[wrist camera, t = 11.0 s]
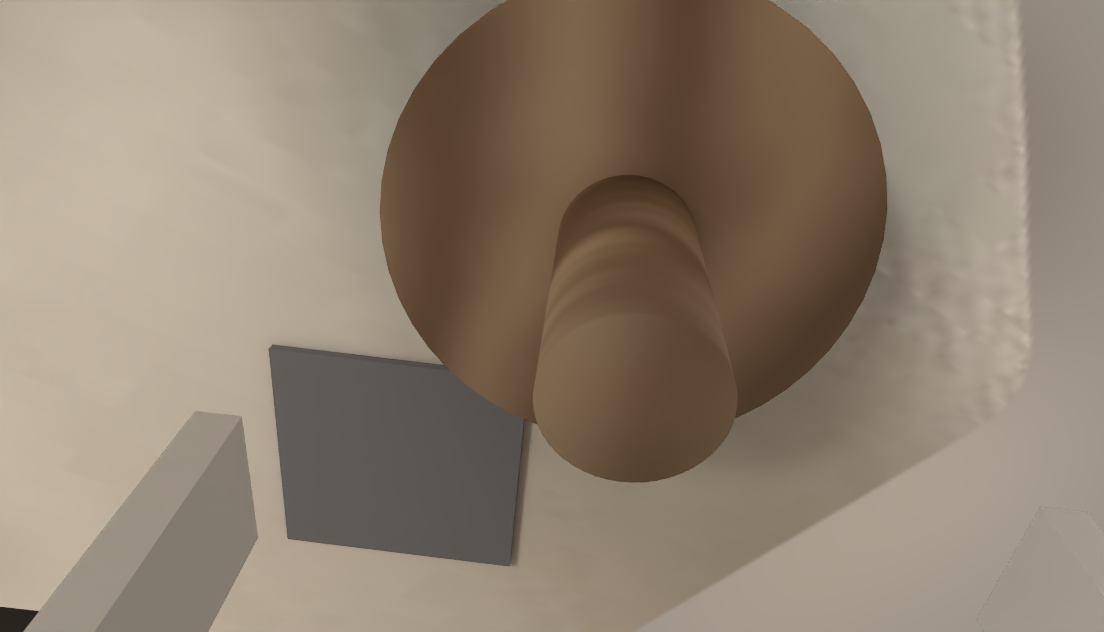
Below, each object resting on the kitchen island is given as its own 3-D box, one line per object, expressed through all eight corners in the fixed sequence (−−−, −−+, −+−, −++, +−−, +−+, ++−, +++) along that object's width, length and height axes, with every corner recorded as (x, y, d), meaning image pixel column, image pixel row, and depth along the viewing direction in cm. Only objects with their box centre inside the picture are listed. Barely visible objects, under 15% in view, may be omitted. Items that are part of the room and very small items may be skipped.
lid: (388, 400, 29) (293, 609, 20) (384, -66, 21) (228, -46, 13) (804, 450, 29) (887, 684, 20) (954, -1, 21) (1193, 65, 12)
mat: (290, 533, 41) (287, 538, 40) (272, 344, 35) (268, 349, 35) (510, 560, 41) (509, 566, 40) (528, 375, 35) (527, 380, 34)
